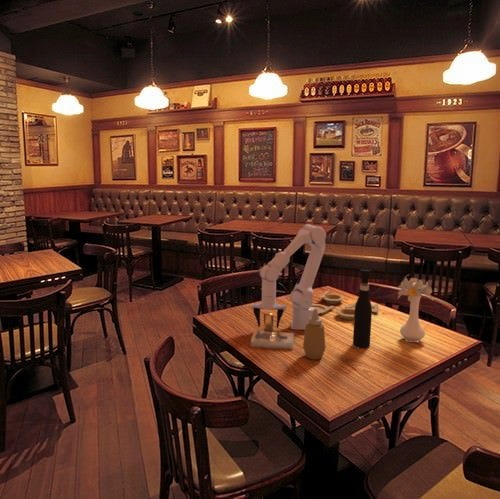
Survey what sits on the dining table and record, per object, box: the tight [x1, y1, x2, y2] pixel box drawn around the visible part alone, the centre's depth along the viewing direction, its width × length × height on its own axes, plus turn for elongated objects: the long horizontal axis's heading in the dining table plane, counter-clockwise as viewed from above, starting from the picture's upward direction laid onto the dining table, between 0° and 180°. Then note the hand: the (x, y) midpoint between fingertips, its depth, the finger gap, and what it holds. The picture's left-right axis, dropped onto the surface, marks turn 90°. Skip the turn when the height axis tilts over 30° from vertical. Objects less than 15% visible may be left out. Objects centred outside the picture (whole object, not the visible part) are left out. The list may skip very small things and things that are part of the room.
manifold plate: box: [250, 330, 295, 350], centre depth 170 cm, size 16×10×2 cm, turn 81°
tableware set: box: [311, 290, 380, 321], centre depth 209 cm, size 35×29×4 cm
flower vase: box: [397, 277, 434, 342], centre depth 171 cm, size 13×18×25 cm
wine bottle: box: [352, 268, 373, 349], centre depth 165 cm, size 6×6×30 cm
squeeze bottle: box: [302, 309, 327, 360], centre depth 156 cm, size 8×8×18 cm
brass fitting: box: [263, 311, 274, 332], centre depth 180 cm, size 4×4×8 cm
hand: (268, 326), depth 180 cm, fingers open, 7 cm apart
